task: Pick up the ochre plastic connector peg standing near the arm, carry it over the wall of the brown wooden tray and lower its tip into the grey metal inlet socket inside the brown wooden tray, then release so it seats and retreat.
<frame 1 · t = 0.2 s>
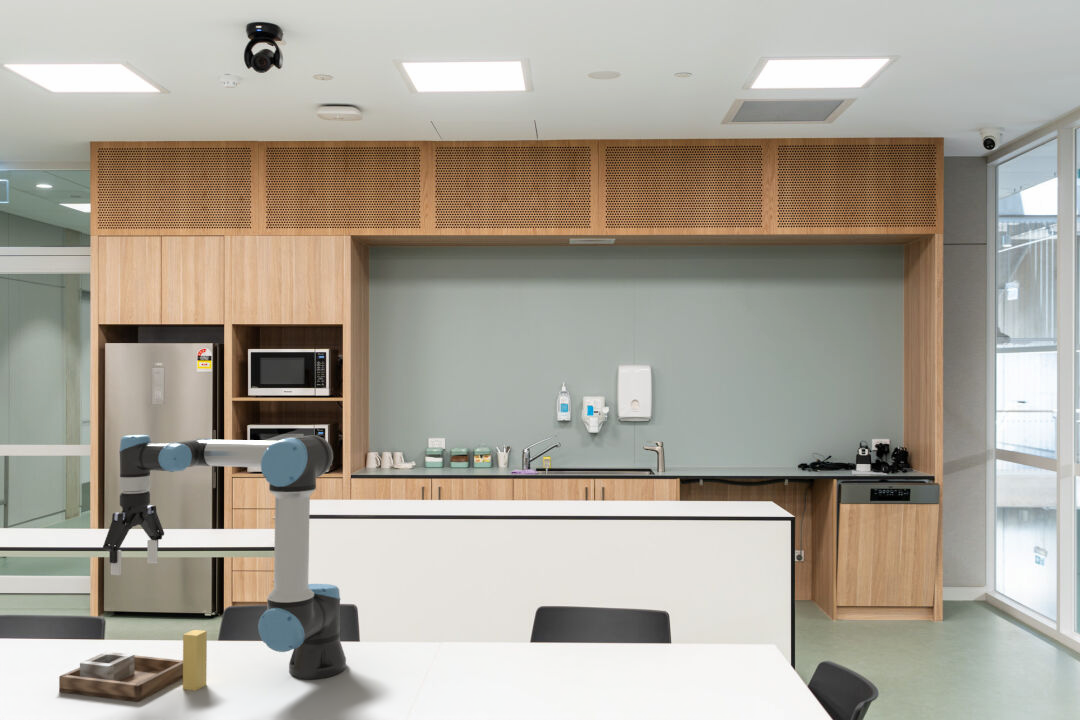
hand: (134, 568, 227), 27 cm above the table, fingers open, 13 cm apart
connector: (194, 686, 214), on the table
brown wooden tray: (124, 683, 216), on the table
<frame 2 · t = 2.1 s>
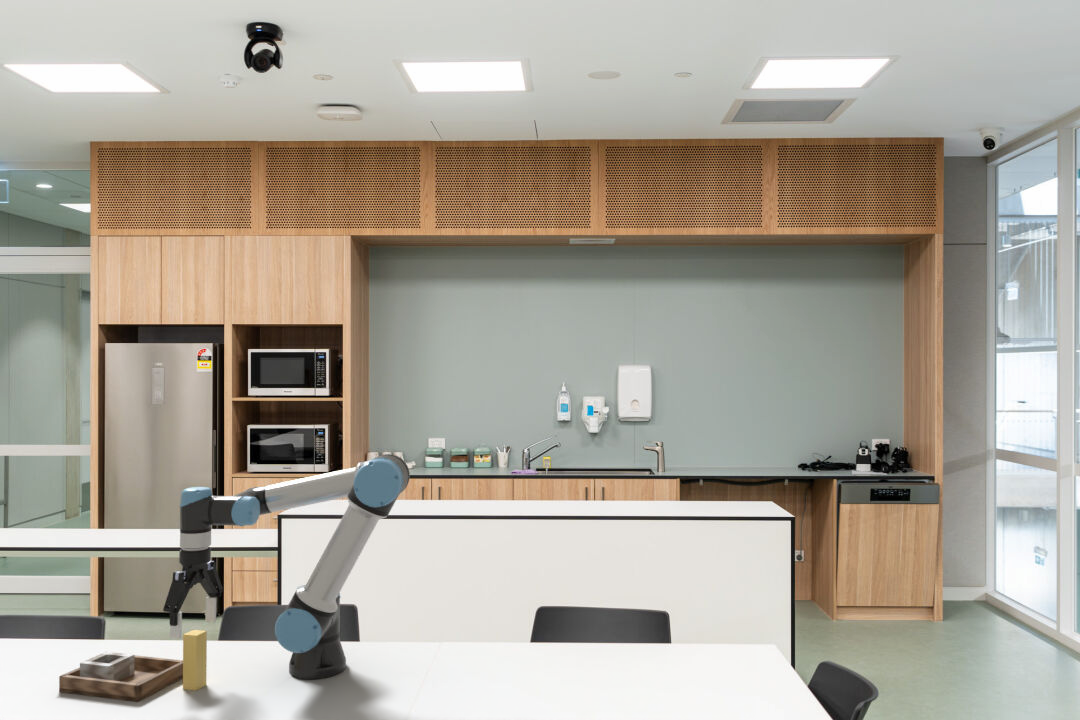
hand: (193, 629, 214), 15 cm above the table, fingers open, 13 cm apart
nothing on the table moved.
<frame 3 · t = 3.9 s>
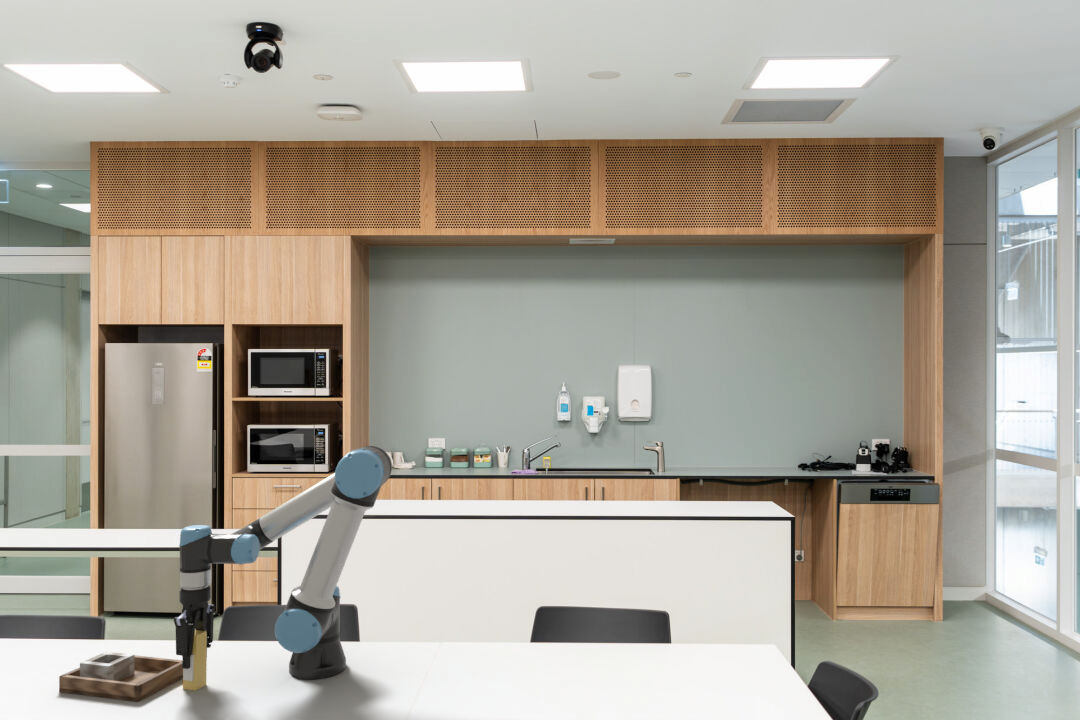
hand: (194, 676, 214), 3 cm above the table, fingers closed on connector, 4 cm apart
connector: (194, 686, 214), on the table, touching gripper
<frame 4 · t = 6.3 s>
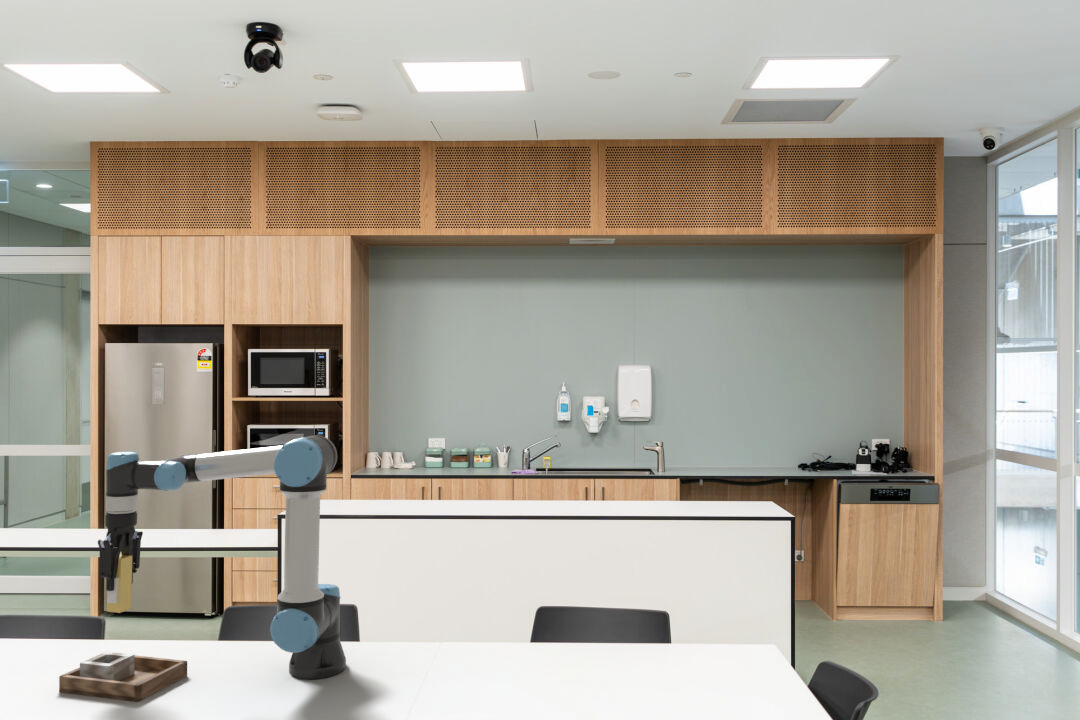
hand: (119, 600, 217), 22 cm above the table, fingers closed on connector, 4 cm apart
connector: (119, 610, 217), point 19 cm above the table, touching gripper
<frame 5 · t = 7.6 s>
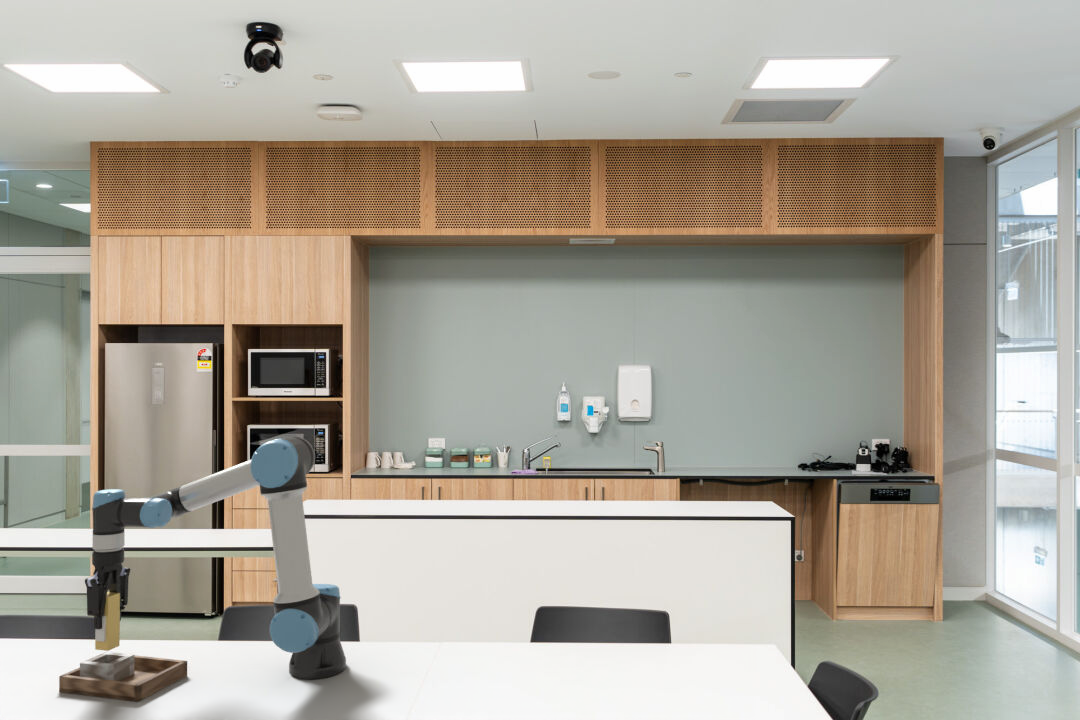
hand: (107, 637, 218), 12 cm above the table, fingers closed on connector, 4 cm apart
connector: (107, 647, 218), point 9 cm above the table, touching gripper
when the fingers open (8 cm above the table, at t = 8.6 s): connector drops 4 cm, resting on brown wooden tray.
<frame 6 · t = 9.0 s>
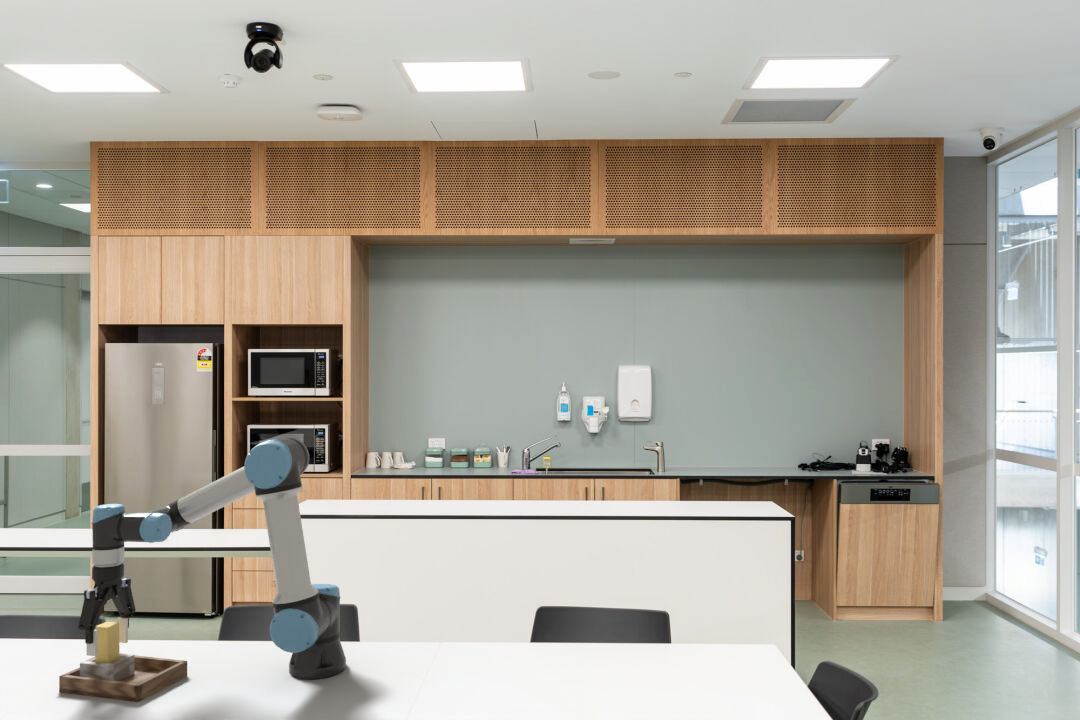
hand: (107, 648, 218), 9 cm above the table, fingers open, 10 cm apart
connector: (107, 677, 218), point 1 cm above the table, touching brown wooden tray
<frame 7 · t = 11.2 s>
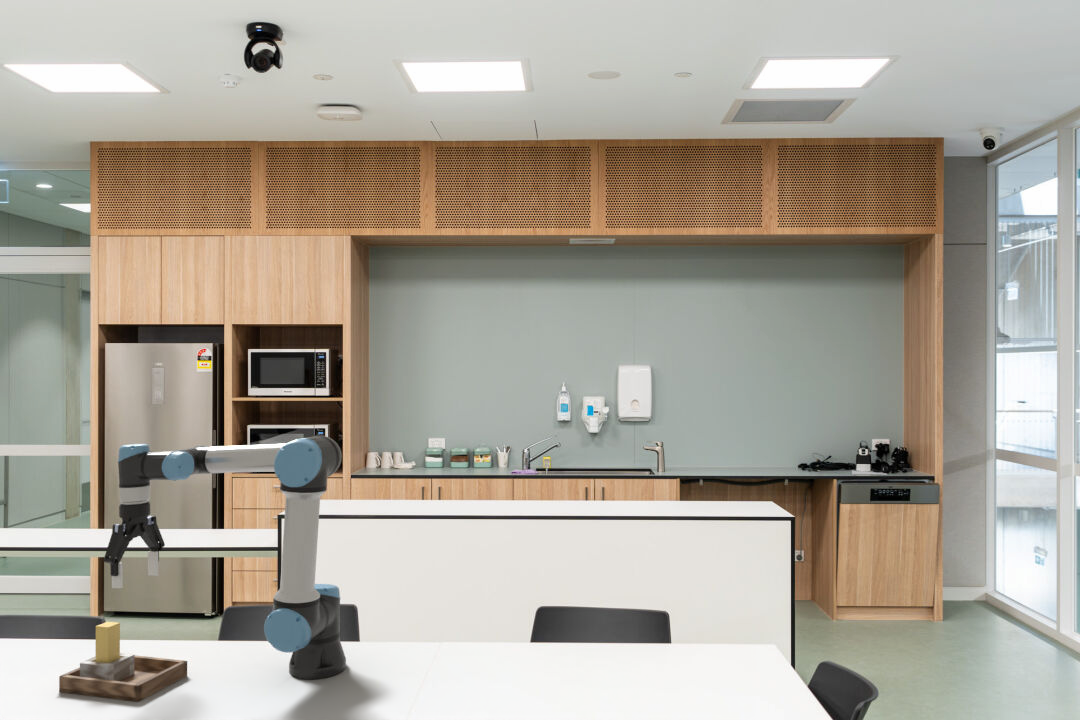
hand: (135, 581, 222), 25 cm above the table, fingers open, 13 cm apart
nothing on the table moved.
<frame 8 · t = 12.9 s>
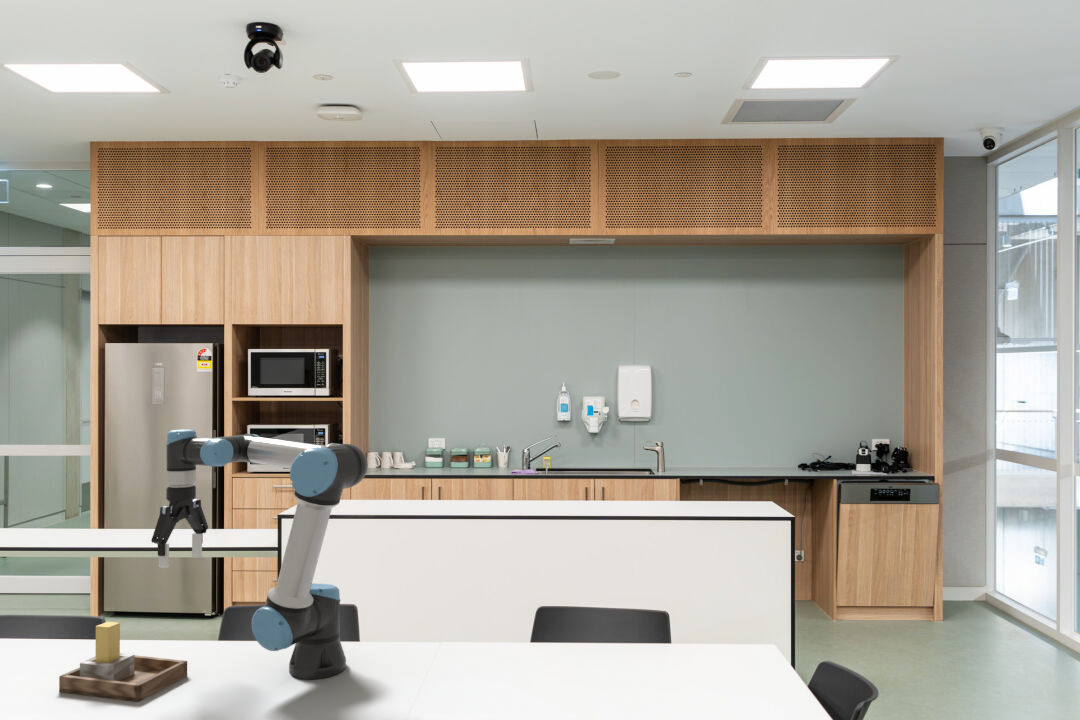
hand: (180, 562, 230), 29 cm above the table, fingers open, 13 cm apart
nothing on the table moved.
at the end: connector 0.0 cm from the target spot on the brown wooden tray, point 1.0 cm above the brown wooden tray's base; connector tilted 0°; the gripper is holding nothing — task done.
